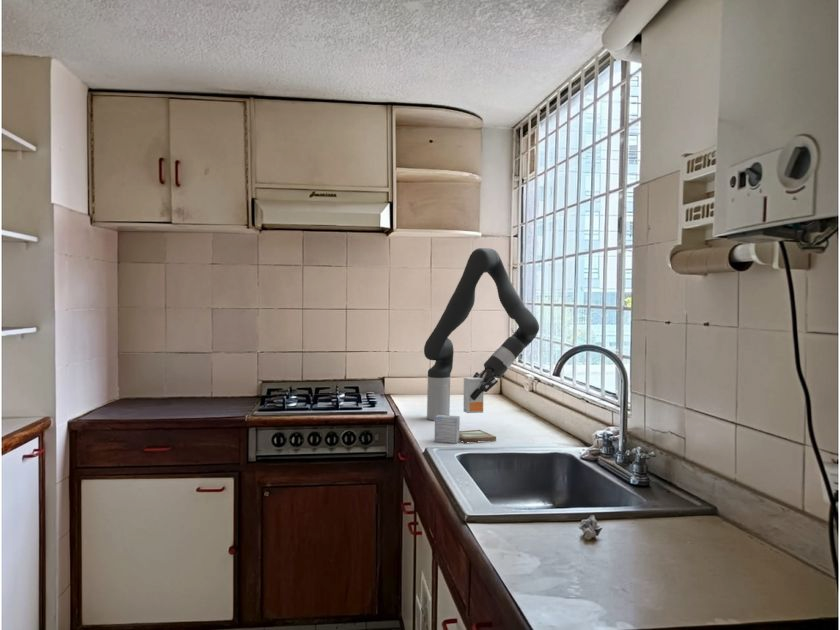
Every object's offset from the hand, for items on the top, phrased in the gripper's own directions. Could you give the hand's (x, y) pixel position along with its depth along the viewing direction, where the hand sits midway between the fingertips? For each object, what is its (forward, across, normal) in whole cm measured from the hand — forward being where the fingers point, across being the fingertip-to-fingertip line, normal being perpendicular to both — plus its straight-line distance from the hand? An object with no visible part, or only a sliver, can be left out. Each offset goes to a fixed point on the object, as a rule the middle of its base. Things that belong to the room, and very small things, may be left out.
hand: (468, 397), depth 214 cm
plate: (+9, 0, +12) cm, 15 cm away
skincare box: (+3, 0, +5) cm, 6 cm away
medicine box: (+17, +2, +4) cm, 17 cm away
